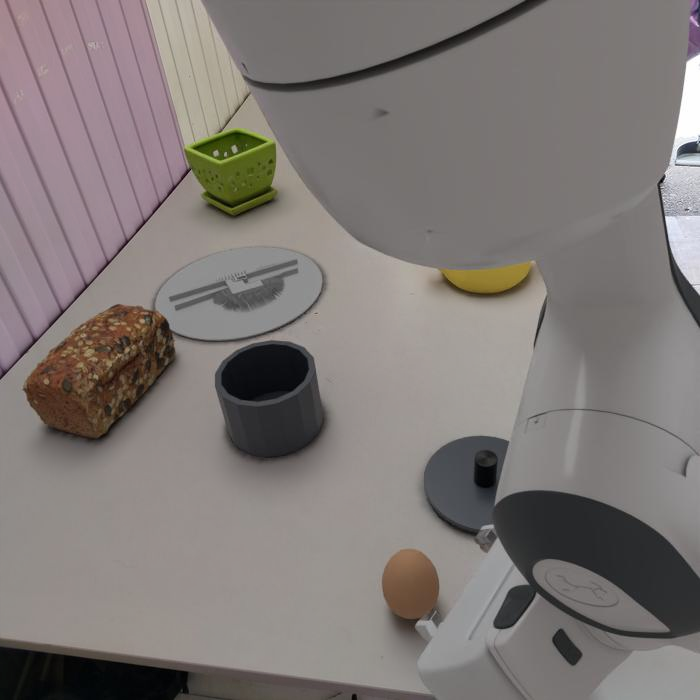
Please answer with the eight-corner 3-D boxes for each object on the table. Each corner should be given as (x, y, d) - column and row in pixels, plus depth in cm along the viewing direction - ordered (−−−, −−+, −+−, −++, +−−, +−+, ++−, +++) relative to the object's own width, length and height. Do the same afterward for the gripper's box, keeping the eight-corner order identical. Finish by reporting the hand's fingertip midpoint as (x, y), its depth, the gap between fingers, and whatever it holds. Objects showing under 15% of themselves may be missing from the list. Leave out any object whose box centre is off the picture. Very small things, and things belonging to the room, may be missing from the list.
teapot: (517, 233, 113) (522, 174, 107) (561, 286, 99) (570, 222, 92) (408, 251, 112) (406, 192, 105) (437, 308, 97) (436, 244, 91)
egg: (441, 584, 61) (441, 535, 56) (437, 636, 57) (437, 588, 52) (387, 578, 62) (383, 529, 57) (380, 629, 58) (375, 581, 53)
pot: (328, 447, 77) (320, 395, 71) (229, 465, 76) (214, 413, 71) (317, 383, 86) (309, 333, 81) (229, 398, 85) (215, 349, 80)
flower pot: (195, 204, 135) (180, 146, 127) (248, 182, 142) (237, 125, 134) (232, 223, 126) (218, 162, 118) (287, 199, 133) (277, 139, 125)
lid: (567, 524, 65) (572, 495, 62) (442, 548, 64) (442, 519, 61) (520, 434, 76) (523, 405, 73) (411, 453, 75) (410, 425, 72)
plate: (292, 234, 120) (291, 228, 120) (348, 307, 100) (347, 301, 99) (144, 274, 113) (142, 268, 113) (171, 362, 93) (169, 355, 92)
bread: (102, 445, 80) (74, 386, 74) (38, 427, 84) (6, 370, 78) (183, 355, 94) (165, 299, 87) (125, 344, 97) (104, 289, 91)
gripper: (616, 437, 47) (490, 469, 58) (486, 666, 35) (358, 652, 46) (666, 501, 48) (532, 521, 59) (555, 750, 35) (412, 716, 47)
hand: (454, 580), depth 52 cm, fingers open, 8 cm apart
